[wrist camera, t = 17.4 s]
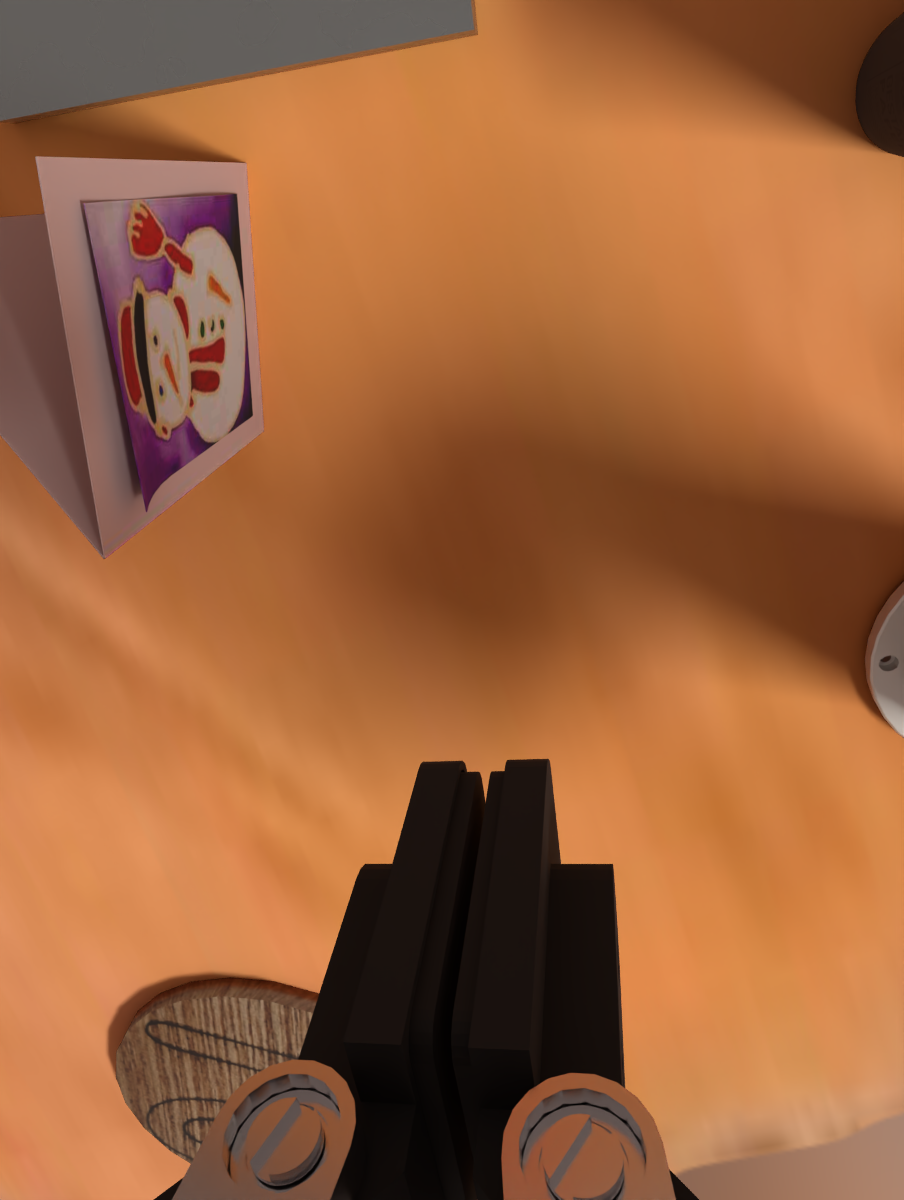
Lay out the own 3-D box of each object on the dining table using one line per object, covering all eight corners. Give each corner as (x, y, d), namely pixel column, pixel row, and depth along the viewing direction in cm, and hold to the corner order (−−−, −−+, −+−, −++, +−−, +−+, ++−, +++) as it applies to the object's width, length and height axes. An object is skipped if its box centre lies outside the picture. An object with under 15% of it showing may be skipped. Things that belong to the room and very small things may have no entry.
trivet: (109, 947, 60) (96, 969, 58) (448, 1008, 58) (444, 1033, 56) (142, 1143, 72) (132, 1166, 70) (425, 1201, 69) (421, 1226, 68)
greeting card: (281, 432, 40) (130, 561, 26) (134, 420, 40) (-83, 540, 27) (266, 163, 34) (67, 157, 21) (98, 156, 35) (-195, 145, 22)
